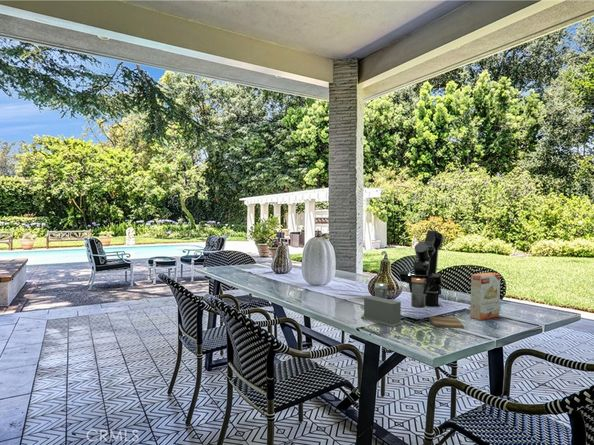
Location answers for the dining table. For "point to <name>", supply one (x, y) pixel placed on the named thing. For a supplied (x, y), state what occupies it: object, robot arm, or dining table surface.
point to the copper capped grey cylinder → (418, 292)
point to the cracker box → (485, 296)
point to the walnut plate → (446, 322)
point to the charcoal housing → (382, 311)
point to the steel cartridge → (381, 290)
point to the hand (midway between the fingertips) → (417, 292)
